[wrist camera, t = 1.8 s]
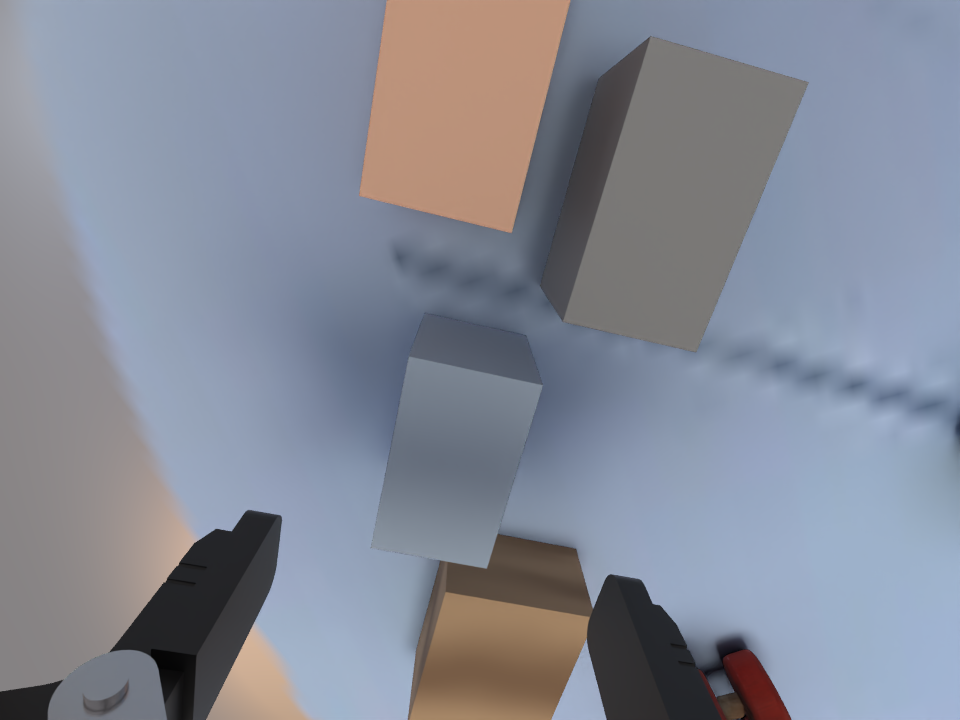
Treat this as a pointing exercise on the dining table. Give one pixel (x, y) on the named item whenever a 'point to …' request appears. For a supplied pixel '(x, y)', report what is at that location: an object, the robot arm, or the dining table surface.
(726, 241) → the grey brick
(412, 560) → the dining table surface
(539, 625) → the walnut block
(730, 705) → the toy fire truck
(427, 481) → the metal block
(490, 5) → the terracotta brick
